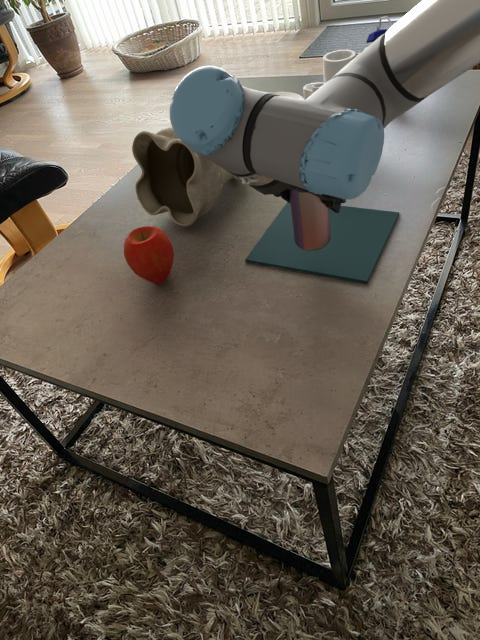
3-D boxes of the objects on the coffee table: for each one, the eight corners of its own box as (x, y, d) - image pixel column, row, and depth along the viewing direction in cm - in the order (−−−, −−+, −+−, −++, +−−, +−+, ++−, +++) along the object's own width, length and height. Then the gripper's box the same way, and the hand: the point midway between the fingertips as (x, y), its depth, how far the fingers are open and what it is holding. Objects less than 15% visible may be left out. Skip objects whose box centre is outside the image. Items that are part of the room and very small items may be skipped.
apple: (127, 286, 88) (105, 237, 80) (161, 260, 92) (144, 211, 84) (157, 303, 83) (137, 252, 76) (192, 275, 87) (176, 224, 79)
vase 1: (204, 101, 111) (109, 122, 92) (284, 89, 98) (191, 112, 79) (221, 195, 121) (138, 232, 102) (295, 196, 108) (215, 239, 89)
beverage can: (288, 247, 80) (277, 164, 70) (305, 228, 84) (298, 145, 73) (320, 256, 77) (314, 170, 67) (337, 235, 81) (334, 150, 70)
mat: (399, 214, 89) (399, 212, 89) (367, 284, 78) (367, 281, 77) (289, 202, 99) (288, 199, 98) (245, 262, 87) (244, 259, 87)
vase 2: (358, 143, 111) (358, 48, 98) (352, 158, 107) (351, 61, 93) (310, 143, 115) (303, 52, 101) (302, 158, 111) (294, 64, 97)
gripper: (190, 180, 63) (261, 217, 83) (332, 195, 54) (371, 232, 75) (201, 121, 62) (270, 174, 83) (346, 127, 54) (382, 184, 75)
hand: (318, 201), depth 79 cm, fingers closed on beverage can, 6 cm apart
